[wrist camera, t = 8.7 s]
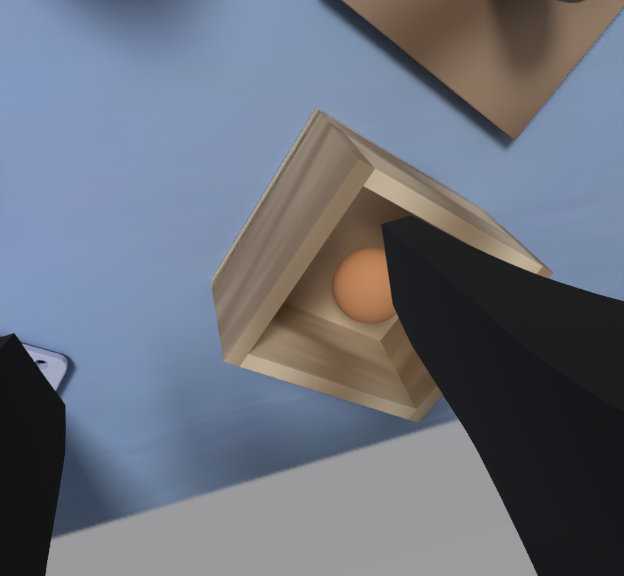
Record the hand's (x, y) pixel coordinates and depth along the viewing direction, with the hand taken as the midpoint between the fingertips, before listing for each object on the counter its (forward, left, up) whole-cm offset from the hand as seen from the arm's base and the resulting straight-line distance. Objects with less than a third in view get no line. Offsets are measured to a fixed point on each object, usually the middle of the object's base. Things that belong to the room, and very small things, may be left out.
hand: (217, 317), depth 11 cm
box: (+8, -1, -10) cm, 13 cm away
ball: (+8, -1, -10) cm, 13 cm away
